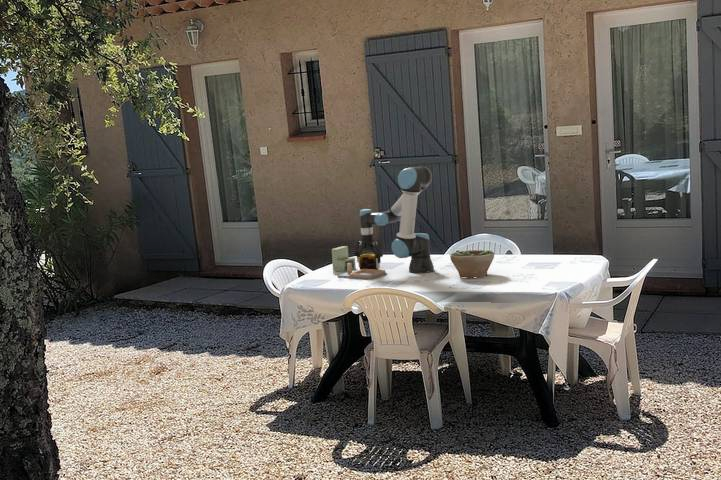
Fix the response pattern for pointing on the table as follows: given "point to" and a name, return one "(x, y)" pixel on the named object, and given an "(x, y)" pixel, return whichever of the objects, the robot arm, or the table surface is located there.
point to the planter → (472, 262)
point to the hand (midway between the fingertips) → (369, 267)
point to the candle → (368, 261)
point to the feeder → (341, 259)
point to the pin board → (362, 273)
